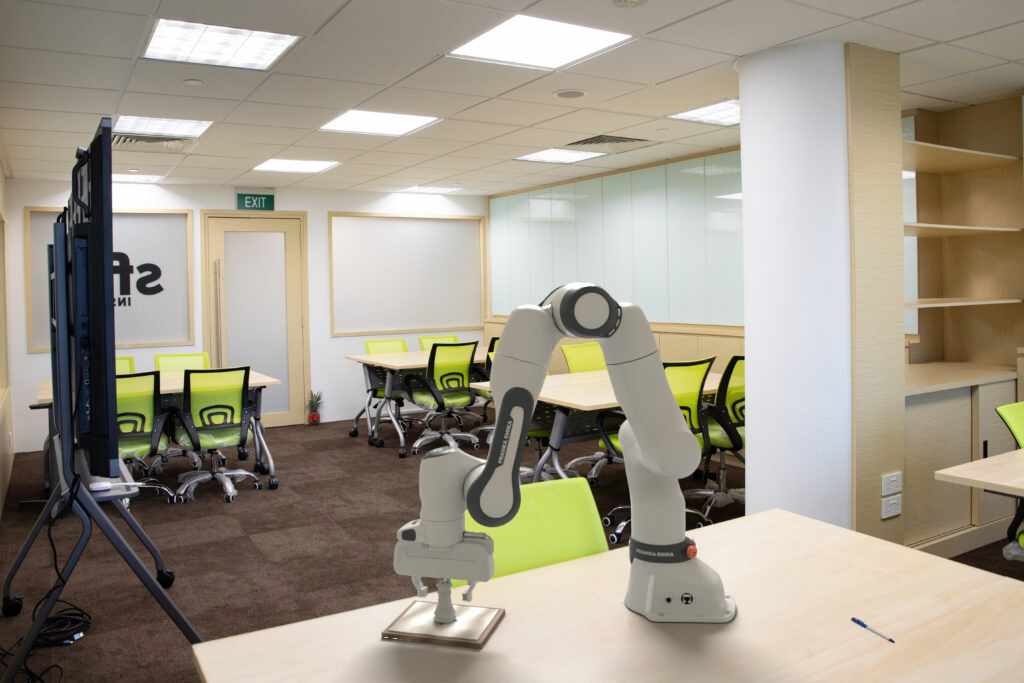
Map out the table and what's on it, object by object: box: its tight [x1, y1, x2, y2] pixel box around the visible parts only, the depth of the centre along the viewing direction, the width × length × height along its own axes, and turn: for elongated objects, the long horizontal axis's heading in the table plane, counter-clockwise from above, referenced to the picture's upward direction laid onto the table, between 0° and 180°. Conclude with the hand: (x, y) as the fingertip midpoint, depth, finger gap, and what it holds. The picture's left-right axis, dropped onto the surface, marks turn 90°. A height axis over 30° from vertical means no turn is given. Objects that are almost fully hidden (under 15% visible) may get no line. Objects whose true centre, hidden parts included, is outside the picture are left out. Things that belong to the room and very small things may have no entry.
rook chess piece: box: [434, 578, 456, 624], centre depth 150 cm, size 4×4×8 cm
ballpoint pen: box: [850, 616, 895, 643], centre depth 144 cm, size 10×1×1 cm, turn 19°
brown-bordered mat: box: [381, 599, 506, 650], centre depth 150 cm, size 20×16×1 cm
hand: (444, 598), depth 150 cm, fingers open, 8 cm apart
